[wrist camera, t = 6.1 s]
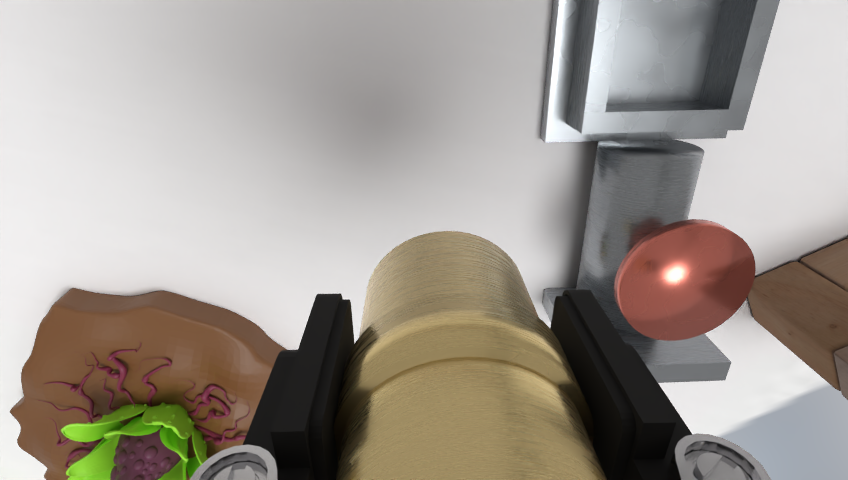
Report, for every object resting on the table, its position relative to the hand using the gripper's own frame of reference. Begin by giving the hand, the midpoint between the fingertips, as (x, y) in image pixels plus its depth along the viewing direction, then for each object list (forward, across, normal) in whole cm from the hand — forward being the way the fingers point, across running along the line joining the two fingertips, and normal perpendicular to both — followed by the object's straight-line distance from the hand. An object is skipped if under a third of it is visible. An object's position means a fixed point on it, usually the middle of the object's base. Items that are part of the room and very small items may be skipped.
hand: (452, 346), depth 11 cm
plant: (+17, +18, +18) cm, 31 cm away
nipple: (+2, 0, 0) cm, 2 cm away
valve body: (+17, -11, 0) cm, 20 cm away
